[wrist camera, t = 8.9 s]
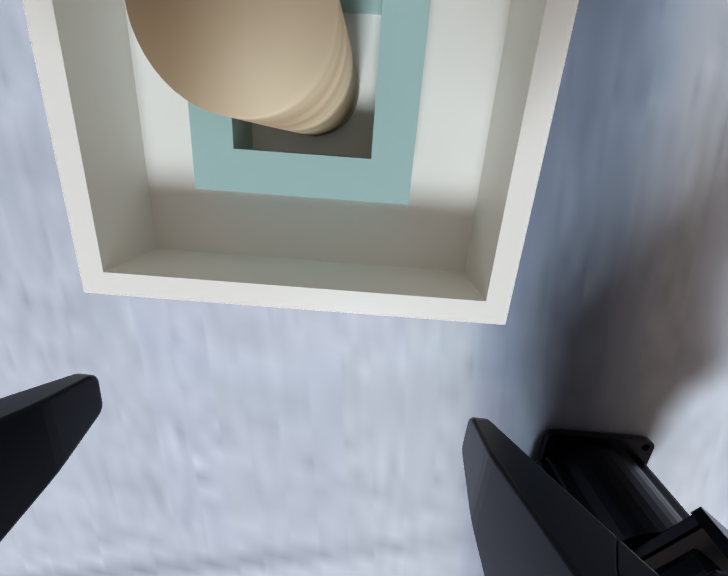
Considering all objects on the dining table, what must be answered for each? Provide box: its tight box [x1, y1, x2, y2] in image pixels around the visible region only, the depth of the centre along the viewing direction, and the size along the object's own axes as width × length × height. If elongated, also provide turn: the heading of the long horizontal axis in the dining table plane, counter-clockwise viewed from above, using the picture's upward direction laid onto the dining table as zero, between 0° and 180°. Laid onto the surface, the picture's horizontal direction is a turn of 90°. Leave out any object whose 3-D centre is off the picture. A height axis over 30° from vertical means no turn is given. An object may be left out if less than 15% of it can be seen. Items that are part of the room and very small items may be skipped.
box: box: [22, 0, 579, 325], centre depth 15 cm, size 18×18×4 cm
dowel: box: [125, 0, 359, 136], centre depth 12 cm, size 4×4×10 cm
